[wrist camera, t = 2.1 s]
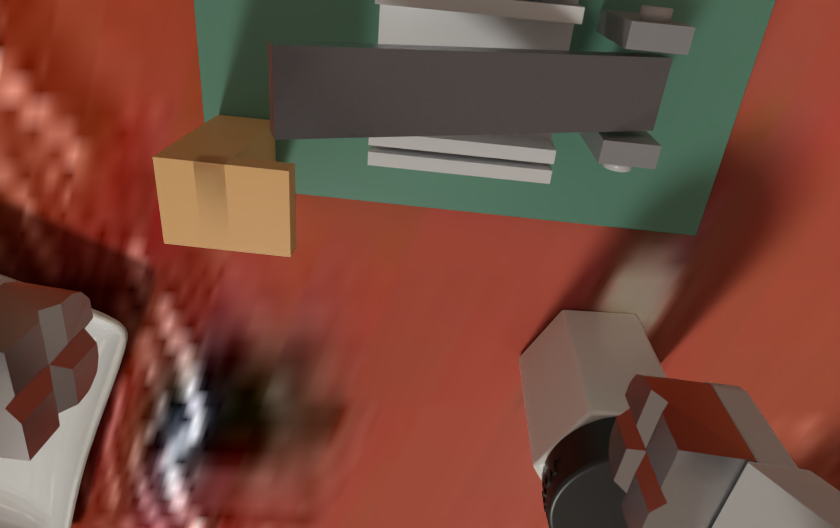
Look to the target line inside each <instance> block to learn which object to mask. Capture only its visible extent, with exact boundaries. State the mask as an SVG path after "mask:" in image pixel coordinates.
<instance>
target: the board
mask: <svg viewBox="0 0 840 528" xmlns="http://www.w3.org/2000/svg"><path fill="white" fill-rule="evenodd" d="M775 1H776V0H194V8H195V19H196V30H197V42H198V53H199V65H200V76H201V88H202V99H203V111H204V122H205V123H206V122H207V121H209V120H210V119H212V118H213V117H215V116H217V115H227V116H237V117H246V118H256V119H266V120H270V108H269V79H268V50H267V40H285V41H313V42H342V43H370V44H399V45H427V46H455V47H484V48H512V49H541V50H569V51H598V52H626V53H654V54H660V55H664V56H668V57H671V58H673V60H672V64H671V67H670V71H669V75H668V78H667V82H666V86H665V89H664V93H663V96H662V100H661V104H660V107H659V111H658V115H657V118H656V122H655V126H654V129H653V131H618V132H576V133H535V134H493V135H451V136H409V137H368V138H326V139H284V140H275V148H276V162H284V163H294V164H295V193H297V194H306V195H316V196H325V197H335V198H344V199H354V200H363V201H372V202H382V203H391V204H401V205H410V206H420V207H429V208H439V209H448V210H458V211H467V212H477V213H486V214H496V215H505V216H514V217H524V218H533V219H543V220H552V221H562V222H571V223H581V224H590V225H600V226H609V227H619V228H628V229H638V230H647V231H656V232H666V233H675V234H685V235H694V236H696V234H697V231H698V228H699V225H700V222H701V219H702V216H703V213H704V210H705V207H706V205H707V202H708V199H709V196H710V193H711V190H712V187H713V184H714V181H715V178H716V175H717V172H718V169H719V166H720V163H721V160H722V157H723V154H724V151H725V148H726V145H727V143H728V140H729V137H730V134H731V131H732V128H733V125H734V122H735V119H736V116H737V113H738V110H739V107H740V104H741V101H742V98H743V95H744V92H745V89H746V86H747V83H748V81H749V78H750V75H751V72H752V69H753V66H754V63H755V60H756V57H757V54H758V51H759V48H760V45H761V42H762V39H763V36H764V33H765V30H766V27H767V24H768V21H769V18H770V16H771V13H772V10H773V7H774V4H775Z"/></svg>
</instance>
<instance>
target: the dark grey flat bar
mask: <svg viewBox="0 0 840 528" xmlns="http://www.w3.org/2000/svg"><path fill="white" fill-rule="evenodd" d="M267 50H268V79H269V108H270V132H271V133H272V135H273V137H274V139H275V140H284V139H326V138H368V137H409V136H451V135H493V134H535V133H576V132H618V131H653V129H654V126H655V122H656V118H657V115H658V111H659V107H660V104H661V100H662V96H663V93H664V89H665V86H666V82H667V78H668V75H669V71H670V67H671V64H672V60H673V58H671V57H668V56H664V55H660V54H654V53H626V52H598V51H569V50H541V49H512V48H484V47H455V46H427V45H399V44H370V43H342V42H313V41H285V40H267Z"/></svg>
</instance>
